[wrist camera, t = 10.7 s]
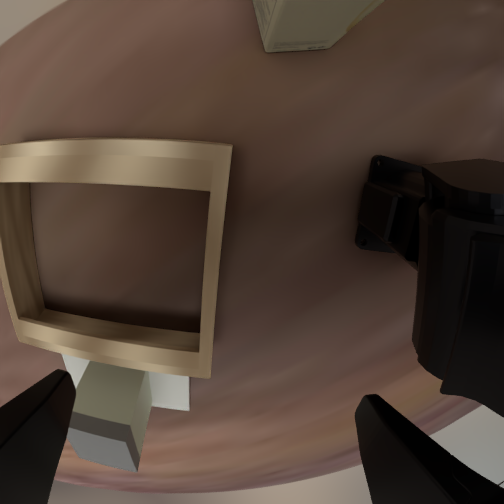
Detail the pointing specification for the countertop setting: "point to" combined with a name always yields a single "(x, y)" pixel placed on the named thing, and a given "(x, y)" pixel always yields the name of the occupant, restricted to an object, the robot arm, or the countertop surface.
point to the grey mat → (162, 385)
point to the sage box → (111, 415)
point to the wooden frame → (123, 173)
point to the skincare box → (308, 22)
